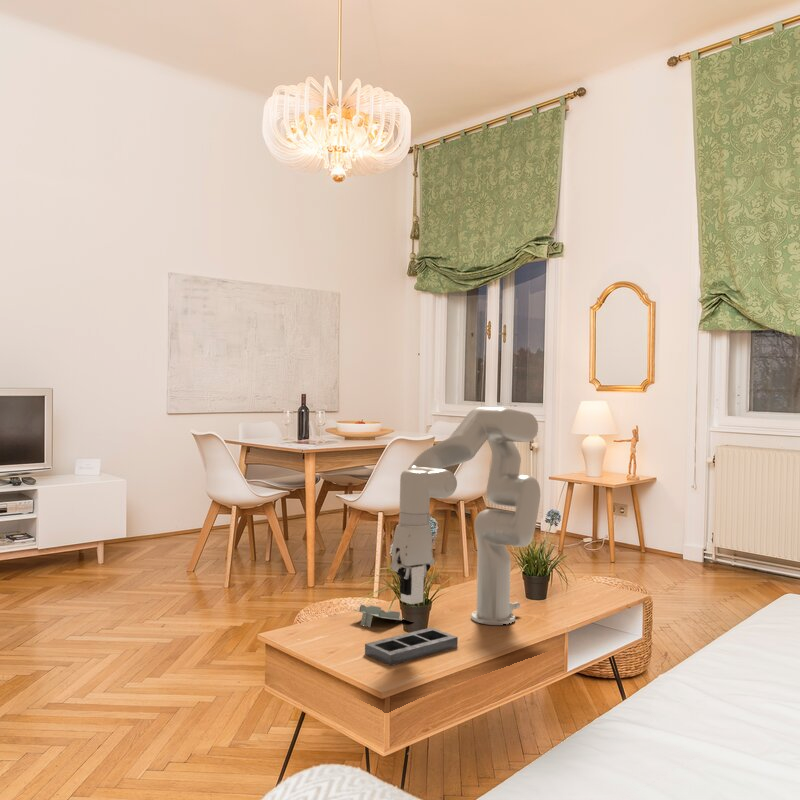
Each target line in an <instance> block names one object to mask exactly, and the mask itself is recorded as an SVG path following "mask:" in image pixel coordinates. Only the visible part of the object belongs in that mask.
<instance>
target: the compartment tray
mask: <svg viewBox="0 0 800 800" xmlns="http://www.w3.org/2000/svg"><path fill="white" fill-rule="evenodd" d="M455 648H458V636H455V635H453V634H450V633H447V632H445V631H442V630H440V629H437V628H435V627H427V628H425V629H424V628H423V629H418V630H415V631H410V632H407V633H404V634H403V633H402V634H400V635H396V636H395V635H394V636H392V637H388V638H383V639H380V640H375V641H371V642H366V643H364V655H366V656H368V657H370V658H372V659H374V660H377V661H379V662H381V663H383V664H385V665H388V666H390V667H391V666H395V665H398V664H401V663H405V661H406V662H409V661H412V660H416V659H420V658H423V657H426V656H430V655H434V654H438V653H441V652H444V651H447V650H451V649H455ZM394 664H395V665H394Z"/></svg>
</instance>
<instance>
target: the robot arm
mask: <svg viewBox="0 0 800 800" xmlns="http://www.w3.org/2000/svg"><path fill="white" fill-rule="evenodd" d="M538 430H539V423H538V420H537V418H536V417H535V415H534V414H532V413H530V412H528V411H527V412H526V411H520V410H517V409H511V408H507V407H481V406H479V407H476V408H473V409H472V410H470V411H469V413H467V414H466V416H465V417H464V418H463V420H462V421H461V422H460V424H459V425H458V426H457V427H456V428H455V430H454V431H453V432H452V434H450V436H449V437H447V438H446V439H444V440H442V441H440V442H438V443H435V444H434V445H433V446H430V447H429V448H427V449H426V450H423V452H421V453H420V454H418V456H417V457H416V458H415V459H414V461H412V463H411V464H410V465H409V466H408V468H407V469H405V470H403V471H402V472H401V474H400V478H399V479H400V480H399V481H400V483H399V485H400V486H399V488H400V489H399V513H398V514H399V515H398V516H399V519H398V520H399V521H398V524H397V525H396V526H395V530H394V533H393V534H394V535H393V542H392V550H391V551H392V552H391V563H390V565H389V568H390V569H391V570H392V571H393V572H395V573H396V574H397V577H398V578H400V579H399V582H400V583H399V593H400V595H401V594H405V595H410V579H408V578H409V573H410V567H411V566H417V565H423V566H424V585H425V581H426V579H425V578H426V576H427V575H428V572H429V570H430V568H431V567H432V566H433V565H434V564H435V563H436V559H435V558H434V556H433V533H432V528H431V524H430V520H431V519H432V514H431V513H430V504H431V503H430V502H431V501H430V499H431V498H433V499H434V498H435V499H446V498H449V497H451V496H452V495H453V494H454V493H455V492H456V490H457V486H458V480H457V478H456V475H455V474H454V473H453V472H452V471H450V470H448V469H445V468H448V467H451V466H456V465H459V464H463V463H467V462H469V461H471V460H472V459H473V458H474V457H476V455H477V454H478V452H479V450H480V449H481V448H482V446H483V445H484V444H485V442H488V445H489V447H490V451H491V464H490V468H489V473H488V478H487V484H486V495H485V496H486V498H487V500H488V502H489V503H490V504H492V505H496V506H500V507H501V506H502V507H508V508H514V509H515V511H508V510H503V509H494V508H489V509H488V508H486V509H483V510H481V511H479V513H478V514H477V515H476V517H475V520H474V523H473V524H474V534H475V539H476V540H475V541H476V546H477V547H476V549H477V553H476V554H477V560H476V562H477V567H476V568H477V569H476V571H477V572H476V577H477V578H476V579H477V580H476V610H474V611H472V612H471V613H470V619H471V620H472V621H473V622H475V623H479V624H482V625H487V626H504V625H503V624H506V625H510V624H512V622H513V623H514V622H515V620H516V616H515V614H513V612H512V611H514V610H518V609H520V608H521V603H520V602H518V601H514V602H511V555H510V552H509V549H508V548H507V546H510V547H516V548H525V547H528V546H529V545H530V544H531V543H532V541H533V539H534V536H535V531H536V527H537V519H538V513H539V508H540V503H541V486H540V484H539V481H538V480H537V479H536V478H535V477H533V476H531V475H526V474H520V469H521V461H522V458H521V454H520V452H519V449H518V447H517V446H516V444H515V443H514V442H516V443H530V442H532V441H533V440H534V439H535V438H536V436H537V434H538V432H539V431H538ZM404 568H405V572H404ZM423 593H425V590H424V591H423ZM509 623H510V624H509Z"/></svg>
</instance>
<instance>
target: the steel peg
mask: <svg viewBox="0 0 800 800" xmlns="http://www.w3.org/2000/svg"><path fill="white" fill-rule="evenodd" d="M404 572H405V568H404ZM408 579H410V595H405V594H401V593H400V601H401V602H403V603H406V604H408V605H415V604H420V603H424V592H425V584H424V566H423V565H417V566H411V567H410V573H409V578H408ZM423 591H424V592H423Z"/></svg>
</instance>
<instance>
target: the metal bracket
mask: <svg viewBox="0 0 800 800" xmlns="http://www.w3.org/2000/svg"><path fill="white" fill-rule="evenodd" d="M353 611H355V612H359V613H362V615H361V616H362V617H361V621H360V626H361V625H362V626H363V625H364V626H368V627H370V628H371V627H372V621H373V618H374V617H377V618H381V619H386V620H387V619H388V620H395V621H402V618H403V617H400V616H401V612H399V611H395V610H388V611H385V610H384V609H382V608H381V606H377V605H376V606H375V605H367V606H366V605H365V604H363V603H361V604H360V606H359V609H354V608H353ZM364 626H363V627H364ZM368 627H367V628H368Z"/></svg>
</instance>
